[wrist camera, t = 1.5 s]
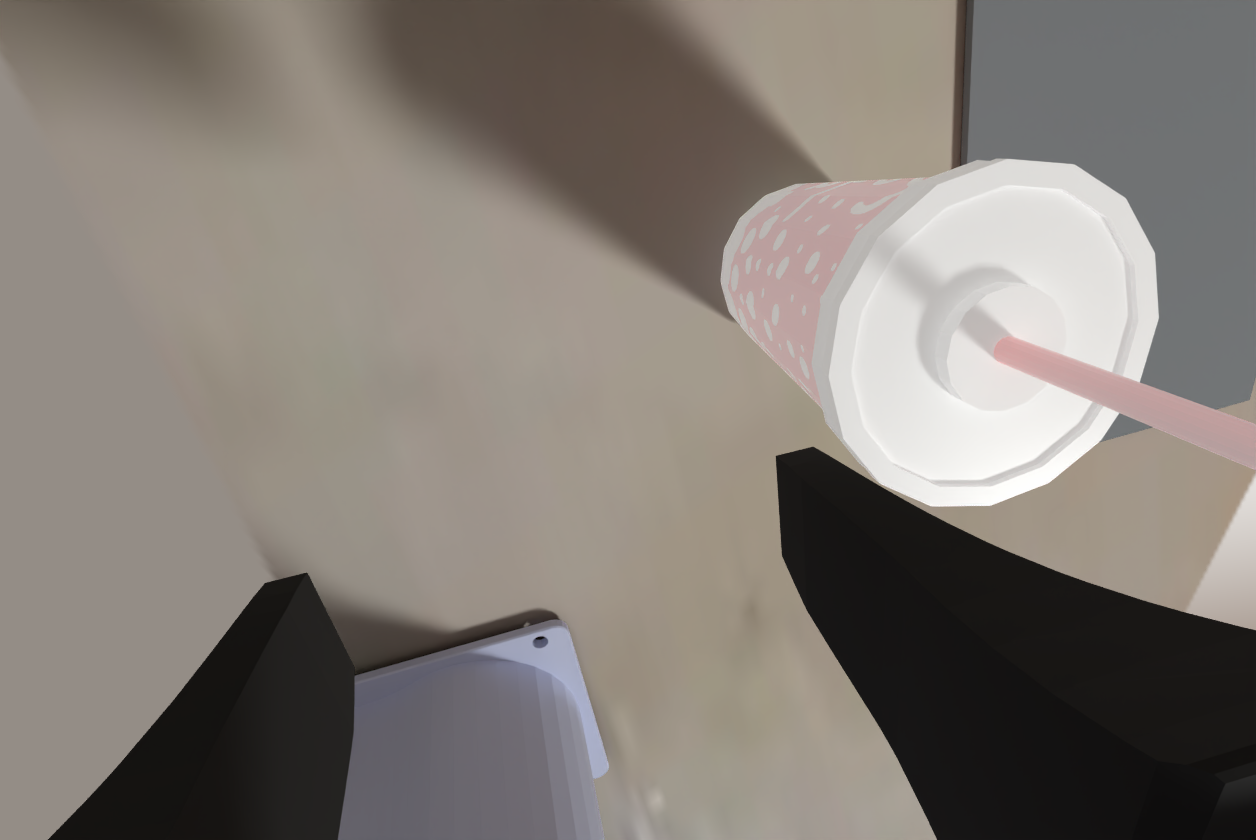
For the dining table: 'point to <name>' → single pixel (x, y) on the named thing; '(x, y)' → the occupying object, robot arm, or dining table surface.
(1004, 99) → the rubber mat
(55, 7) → the dining table surface
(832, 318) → the beverage cup
